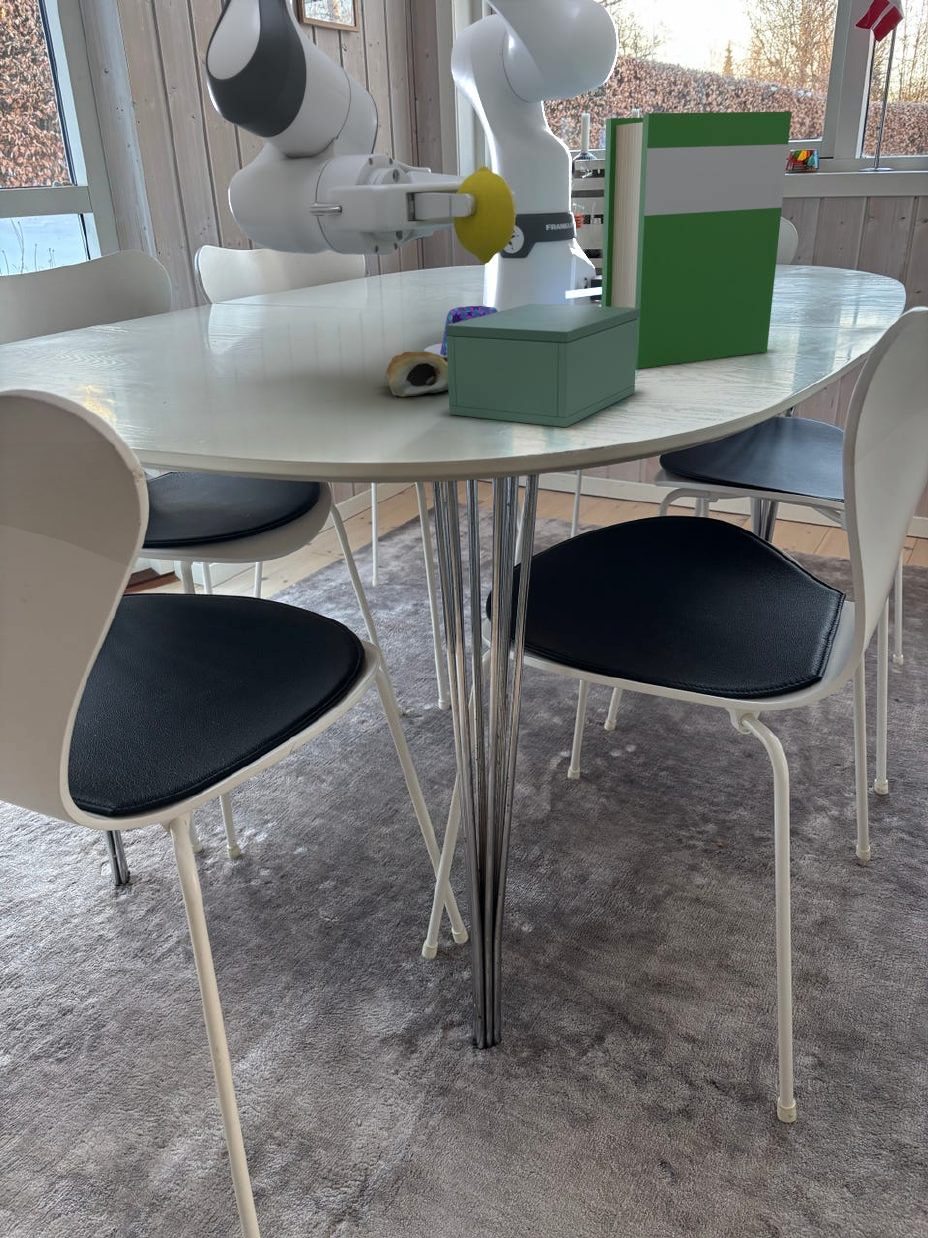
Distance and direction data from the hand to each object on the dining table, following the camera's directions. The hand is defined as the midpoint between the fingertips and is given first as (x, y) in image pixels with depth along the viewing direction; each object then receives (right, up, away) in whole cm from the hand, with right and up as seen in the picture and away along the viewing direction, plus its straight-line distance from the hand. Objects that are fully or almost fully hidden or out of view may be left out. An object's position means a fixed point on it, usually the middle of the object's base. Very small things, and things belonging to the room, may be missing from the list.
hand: (493, 203), depth 82 cm
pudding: (-1, -5, +28) cm, 29 cm away
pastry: (-7, -14, +12) cm, 19 cm away
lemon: (-1, -5, +3) cm, 5 cm away
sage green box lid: (+5, -11, +1) cm, 12 cm away
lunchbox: (+5, -17, +3) cm, 18 cm away
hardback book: (+22, -7, +23) cm, 33 cm away
